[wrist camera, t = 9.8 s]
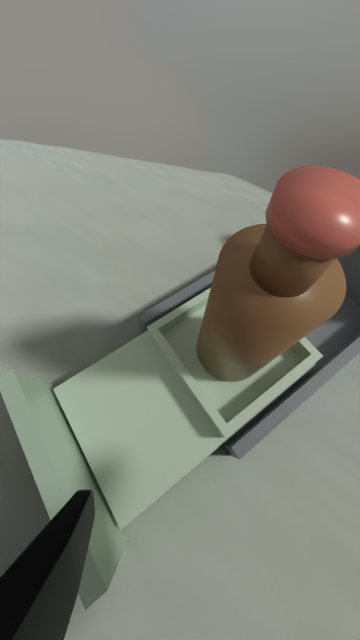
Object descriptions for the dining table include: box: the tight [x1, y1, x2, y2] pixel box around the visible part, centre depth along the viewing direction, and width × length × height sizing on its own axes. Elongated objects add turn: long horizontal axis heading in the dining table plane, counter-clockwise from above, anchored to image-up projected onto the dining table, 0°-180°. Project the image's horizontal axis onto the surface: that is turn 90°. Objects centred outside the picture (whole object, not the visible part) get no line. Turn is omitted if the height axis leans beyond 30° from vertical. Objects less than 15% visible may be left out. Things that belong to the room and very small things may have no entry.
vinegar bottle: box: [196, 166, 360, 382], centre depth 13 cm, size 5×5×13 cm
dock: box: [139, 246, 360, 459], centre depth 19 cm, size 18×12×6 cm, turn 125°
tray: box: [0, 288, 323, 610], centre depth 17 cm, size 19×12×5 cm, turn 125°
